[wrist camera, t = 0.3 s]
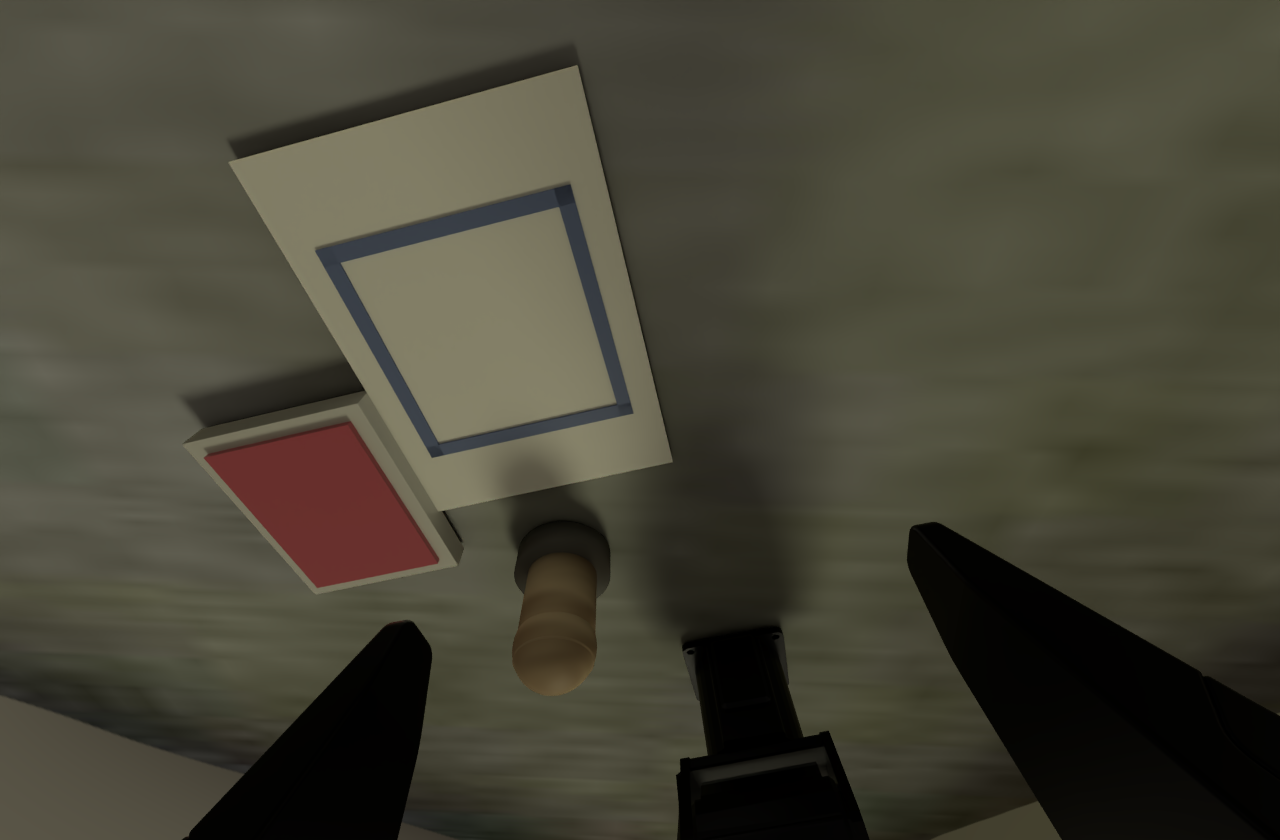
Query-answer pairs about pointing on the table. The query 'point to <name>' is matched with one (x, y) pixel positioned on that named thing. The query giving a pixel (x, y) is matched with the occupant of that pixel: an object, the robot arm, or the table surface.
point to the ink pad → (329, 492)
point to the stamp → (559, 605)
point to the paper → (475, 287)
